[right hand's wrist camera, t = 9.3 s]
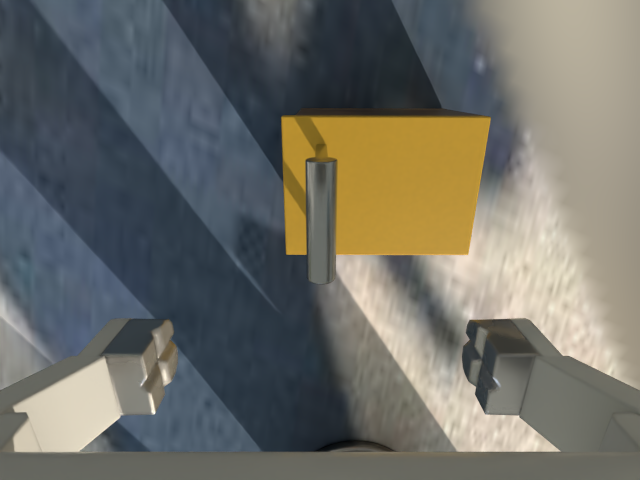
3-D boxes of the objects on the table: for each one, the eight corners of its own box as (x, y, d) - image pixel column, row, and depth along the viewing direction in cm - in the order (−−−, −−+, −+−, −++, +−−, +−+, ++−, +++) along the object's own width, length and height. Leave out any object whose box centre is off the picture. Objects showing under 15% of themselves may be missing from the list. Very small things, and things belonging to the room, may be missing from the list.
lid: (287, 248, 28) (274, 309, 21) (282, 115, 25) (264, 127, 17) (463, 249, 28) (517, 310, 21) (484, 115, 25) (559, 128, 17)
